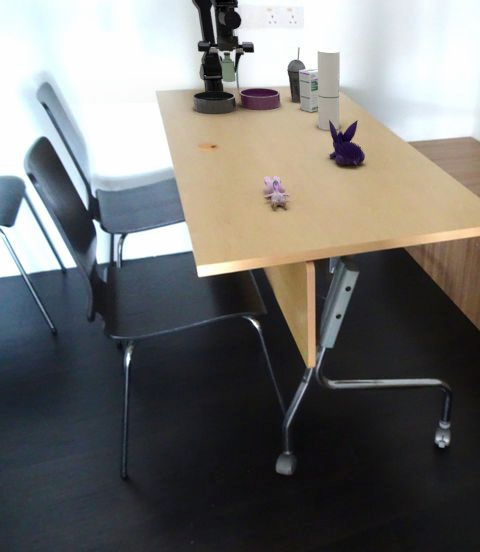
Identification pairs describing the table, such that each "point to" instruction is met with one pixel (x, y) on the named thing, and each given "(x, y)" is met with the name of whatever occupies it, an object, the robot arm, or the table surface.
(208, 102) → the charcoal bowl
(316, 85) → the syrup box
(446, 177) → the table surface
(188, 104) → the table surface
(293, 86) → the beverage cup
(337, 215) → the table surface
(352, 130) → the creature
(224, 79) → the bottle
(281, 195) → the rabbit figure
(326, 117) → the cylindrical container
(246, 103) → the plum bowl
